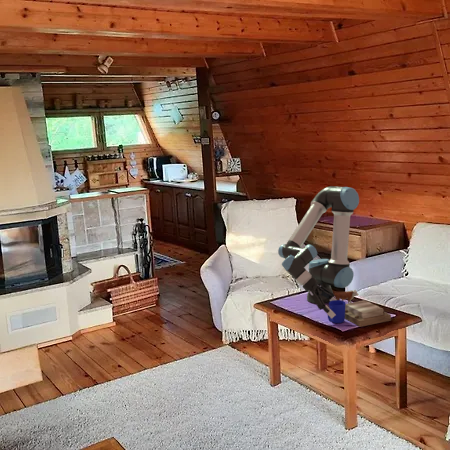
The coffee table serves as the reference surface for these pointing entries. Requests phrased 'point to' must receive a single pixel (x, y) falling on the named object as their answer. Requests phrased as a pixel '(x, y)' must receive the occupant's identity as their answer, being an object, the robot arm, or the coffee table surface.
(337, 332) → the coffee table surface
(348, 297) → the bull figurine
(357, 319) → the plinth
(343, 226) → the robot arm
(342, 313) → the mug
